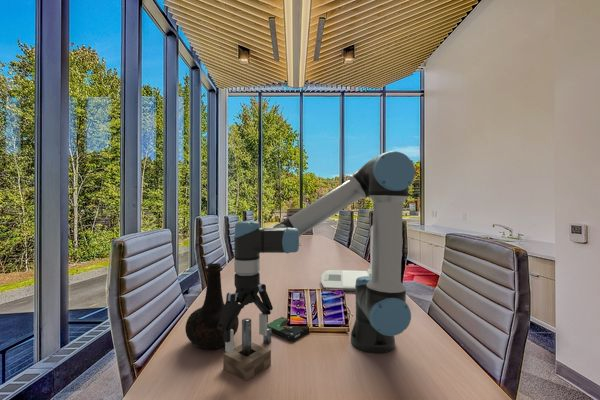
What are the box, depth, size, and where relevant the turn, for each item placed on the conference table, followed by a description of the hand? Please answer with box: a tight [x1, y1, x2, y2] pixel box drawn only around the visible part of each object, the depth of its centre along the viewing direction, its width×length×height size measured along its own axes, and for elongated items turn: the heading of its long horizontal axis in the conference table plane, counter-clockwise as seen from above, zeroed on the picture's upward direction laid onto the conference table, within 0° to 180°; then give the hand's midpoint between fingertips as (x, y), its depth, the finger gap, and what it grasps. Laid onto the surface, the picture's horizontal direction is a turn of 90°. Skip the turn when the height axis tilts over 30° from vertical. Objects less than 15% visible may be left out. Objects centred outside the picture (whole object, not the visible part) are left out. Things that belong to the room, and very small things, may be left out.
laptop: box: [320, 224, 373, 292], centre depth 181 cm, size 42×33×35 cm
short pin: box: [262, 328, 272, 345], centre depth 105 cm, size 3×3×4 cm
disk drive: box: [267, 316, 310, 343], centre depth 113 cm, size 10×3×15 cm
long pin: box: [241, 317, 252, 357], centre depth 90 cm, size 3×3×14 cm
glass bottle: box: [184, 262, 240, 350], centre depth 104 cm, size 18×18×28 cm
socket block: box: [222, 341, 272, 382], centre depth 89 cm, size 10×10×4 cm
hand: (247, 342), depth 89 cm, fingers open, 13 cm apart
